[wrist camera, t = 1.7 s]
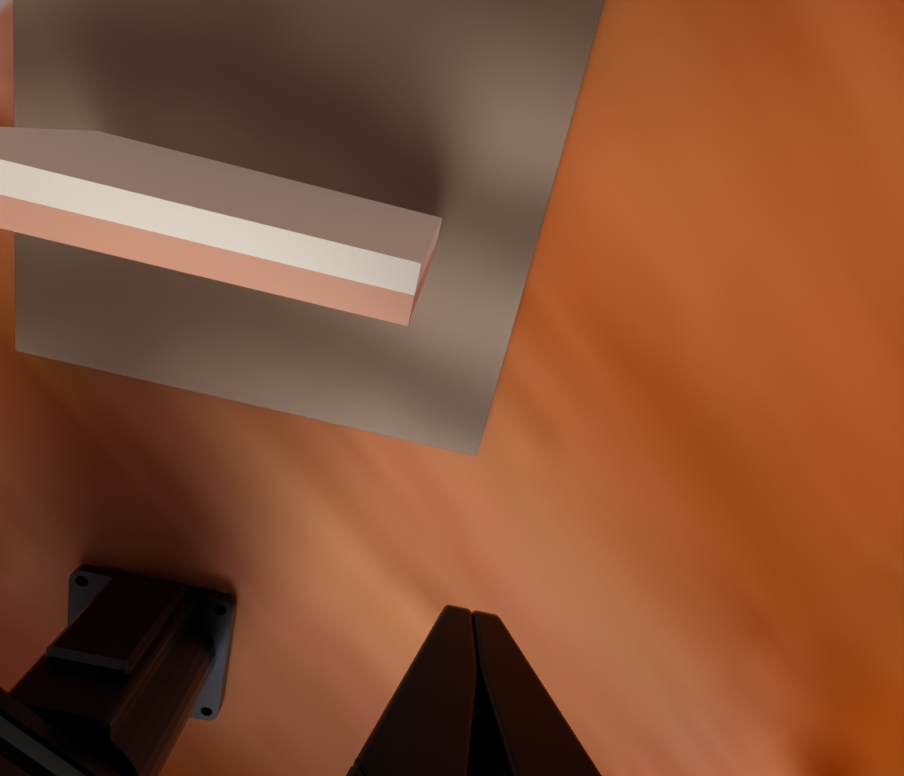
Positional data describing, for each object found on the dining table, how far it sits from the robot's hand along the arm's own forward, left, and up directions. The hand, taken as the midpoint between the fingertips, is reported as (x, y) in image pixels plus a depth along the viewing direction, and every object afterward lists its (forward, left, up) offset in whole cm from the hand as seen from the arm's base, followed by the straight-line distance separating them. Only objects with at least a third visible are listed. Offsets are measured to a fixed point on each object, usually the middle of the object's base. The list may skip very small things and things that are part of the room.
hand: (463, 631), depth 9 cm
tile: (+4, +7, -7) cm, 10 cm away
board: (+7, +7, -12) cm, 16 cm away
